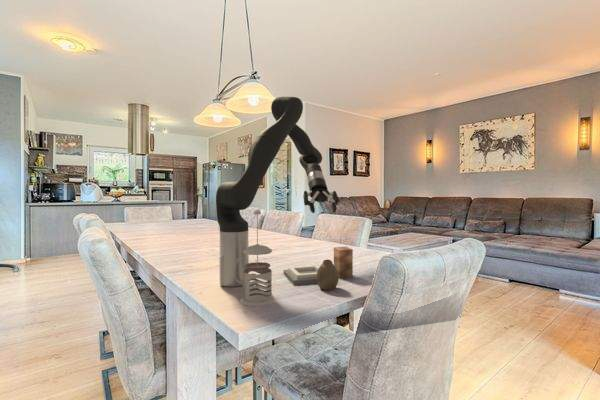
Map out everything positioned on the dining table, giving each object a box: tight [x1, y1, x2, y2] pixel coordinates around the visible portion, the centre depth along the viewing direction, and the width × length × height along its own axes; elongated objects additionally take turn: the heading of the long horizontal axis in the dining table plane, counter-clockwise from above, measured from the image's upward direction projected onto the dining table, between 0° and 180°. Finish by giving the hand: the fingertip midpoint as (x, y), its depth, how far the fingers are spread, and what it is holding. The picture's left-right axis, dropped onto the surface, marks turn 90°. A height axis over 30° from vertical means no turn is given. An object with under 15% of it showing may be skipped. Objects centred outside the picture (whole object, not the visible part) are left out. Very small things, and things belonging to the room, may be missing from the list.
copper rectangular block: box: [333, 246, 354, 280], centre depth 110 cm, size 5×5×10 cm
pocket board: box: [283, 265, 320, 286], centre depth 108 cm, size 14×14×3 cm
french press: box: [233, 209, 276, 307], centre depth 85 cm, size 10×12×25 cm
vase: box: [316, 259, 340, 291], centre depth 96 cm, size 7×7×9 cm
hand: (324, 211), depth 123 cm, fingers open, 8 cm apart
